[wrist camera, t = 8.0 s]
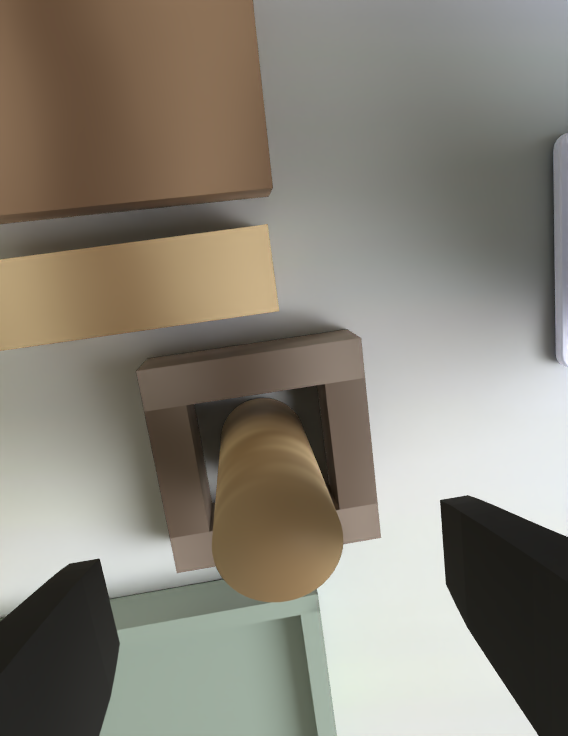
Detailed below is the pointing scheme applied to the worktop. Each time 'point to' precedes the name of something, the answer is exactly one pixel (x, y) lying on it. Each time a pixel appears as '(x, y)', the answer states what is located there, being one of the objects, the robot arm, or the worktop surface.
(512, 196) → the worktop surface
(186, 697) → the tray
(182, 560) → the socket block
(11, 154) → the brown wooden board
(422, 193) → the worktop surface
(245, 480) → the dowel
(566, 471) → the worktop surface
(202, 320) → the block
